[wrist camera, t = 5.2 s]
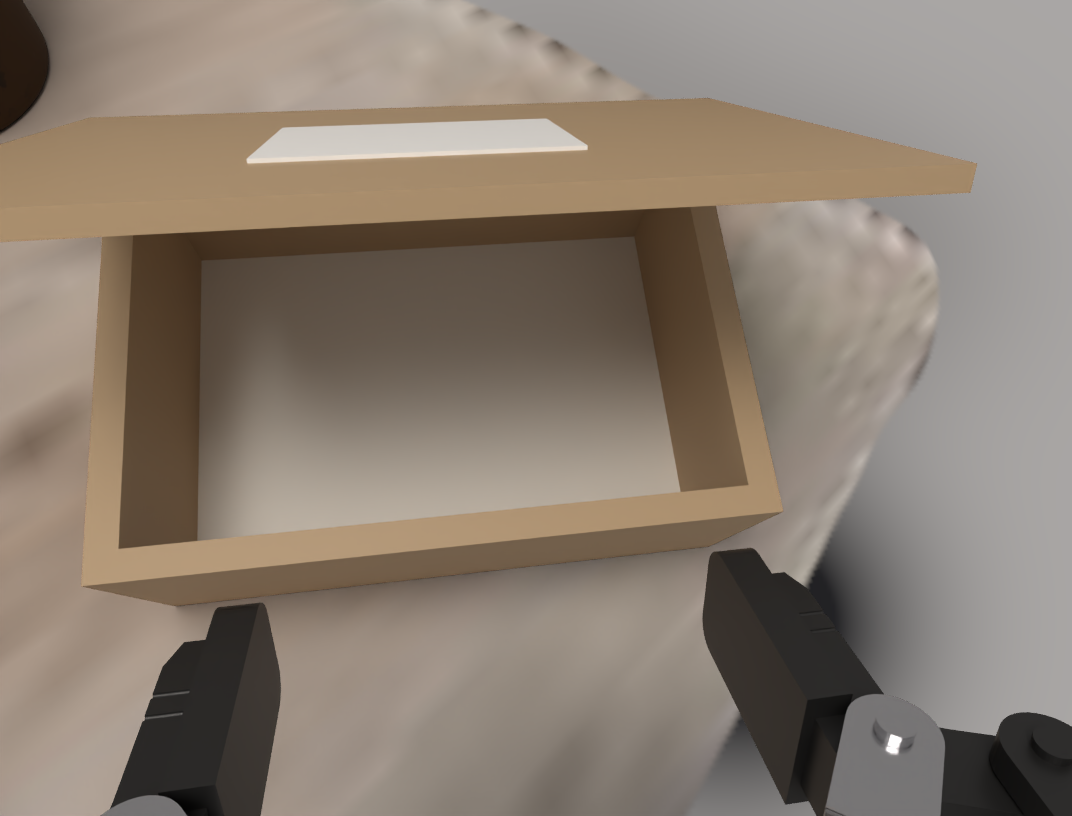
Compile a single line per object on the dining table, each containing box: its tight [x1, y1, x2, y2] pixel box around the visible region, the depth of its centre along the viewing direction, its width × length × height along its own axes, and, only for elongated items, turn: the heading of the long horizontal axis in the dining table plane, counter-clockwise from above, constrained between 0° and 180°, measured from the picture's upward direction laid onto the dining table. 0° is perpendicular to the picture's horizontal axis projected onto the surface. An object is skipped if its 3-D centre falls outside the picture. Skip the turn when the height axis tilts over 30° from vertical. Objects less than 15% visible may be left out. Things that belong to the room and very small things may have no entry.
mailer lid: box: [0, 98, 977, 242], centre depth 22 cm, size 16×23×1 cm
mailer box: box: [81, 206, 783, 606], centre depth 30 cm, size 16×22×8 cm
